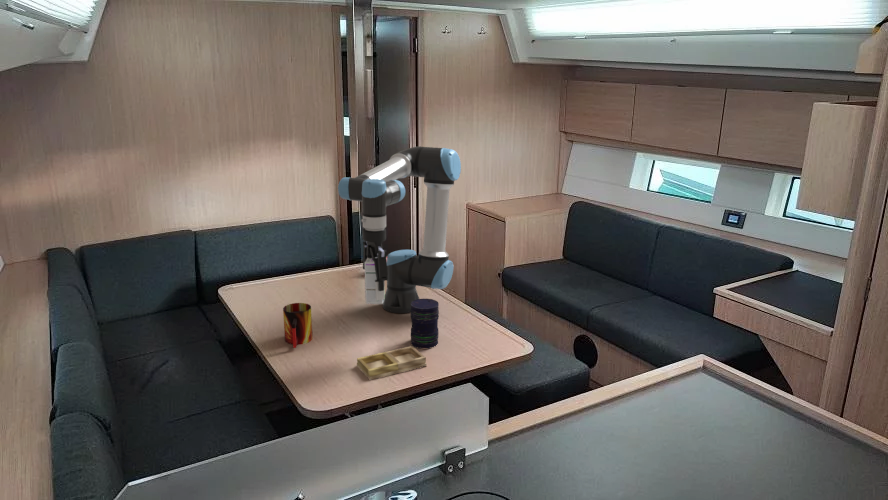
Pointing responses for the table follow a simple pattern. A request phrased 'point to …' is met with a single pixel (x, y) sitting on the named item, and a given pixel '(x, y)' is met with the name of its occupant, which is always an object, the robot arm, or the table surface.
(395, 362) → the socket board
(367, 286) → the syrup box
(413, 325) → the storage jar
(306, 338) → the mug
